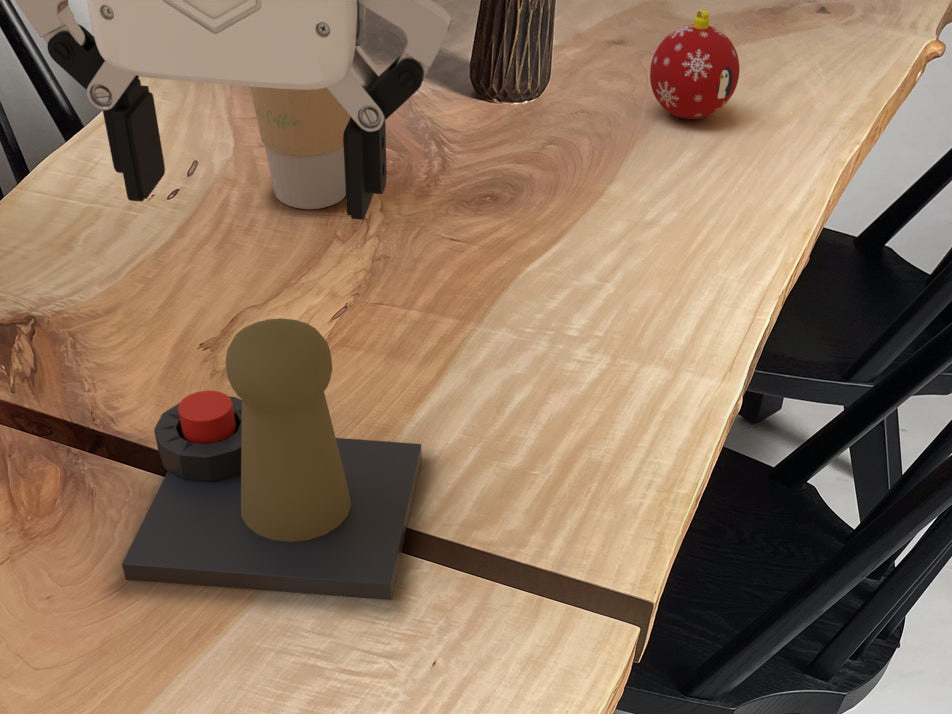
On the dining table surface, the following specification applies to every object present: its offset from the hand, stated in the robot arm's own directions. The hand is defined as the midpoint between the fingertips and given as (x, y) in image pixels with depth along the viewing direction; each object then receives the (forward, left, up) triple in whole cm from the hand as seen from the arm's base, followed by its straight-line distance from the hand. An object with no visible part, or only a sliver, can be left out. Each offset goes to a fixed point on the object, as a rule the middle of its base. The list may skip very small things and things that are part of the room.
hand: (254, 197), depth 49 cm
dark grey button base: (-1, 0, -19) cm, 19 cm away
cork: (0, 0, -18) cm, 18 cm away
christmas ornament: (+25, +64, -19) cm, 72 cm away
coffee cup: (-8, +41, -19) cm, 46 cm away
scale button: (-6, +4, -17) cm, 18 cm away
